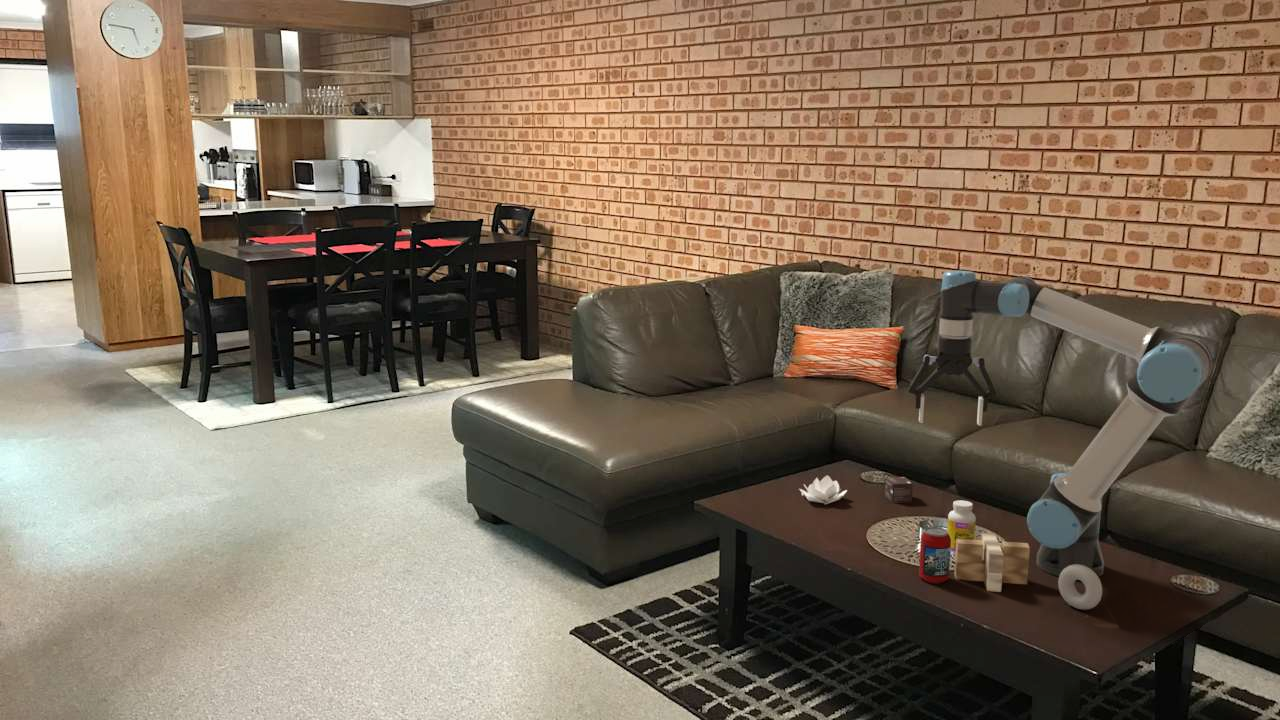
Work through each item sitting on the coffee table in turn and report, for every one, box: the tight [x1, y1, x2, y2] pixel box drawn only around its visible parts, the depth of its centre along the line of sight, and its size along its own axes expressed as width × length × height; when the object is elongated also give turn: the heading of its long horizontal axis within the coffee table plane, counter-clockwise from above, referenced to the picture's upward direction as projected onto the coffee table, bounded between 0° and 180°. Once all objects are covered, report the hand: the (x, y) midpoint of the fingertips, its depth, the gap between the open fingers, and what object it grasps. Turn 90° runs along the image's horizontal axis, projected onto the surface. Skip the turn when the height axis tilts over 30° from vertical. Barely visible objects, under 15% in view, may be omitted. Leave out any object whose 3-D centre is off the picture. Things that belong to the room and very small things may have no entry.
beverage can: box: [918, 526, 951, 584], centre depth 245 cm, size 7×7×12 cm
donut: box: [1057, 564, 1103, 611], centre depth 230 cm, size 10×4×10 cm, turn 35°
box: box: [884, 476, 914, 504], centre depth 299 cm, size 6×6×7 cm
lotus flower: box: [798, 474, 848, 505], centre depth 298 cm, size 14×15×9 cm
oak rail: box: [954, 539, 1031, 585], centre depth 246 cm, size 16×3×9 cm, turn 80°
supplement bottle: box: [946, 499, 977, 555], centre depth 263 cm, size 7×7×13 cm
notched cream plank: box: [980, 532, 1004, 593], centre depth 246 cm, size 14×3×9 cm, turn 170°
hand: (949, 423), depth 252 cm, fingers open, 13 cm apart
